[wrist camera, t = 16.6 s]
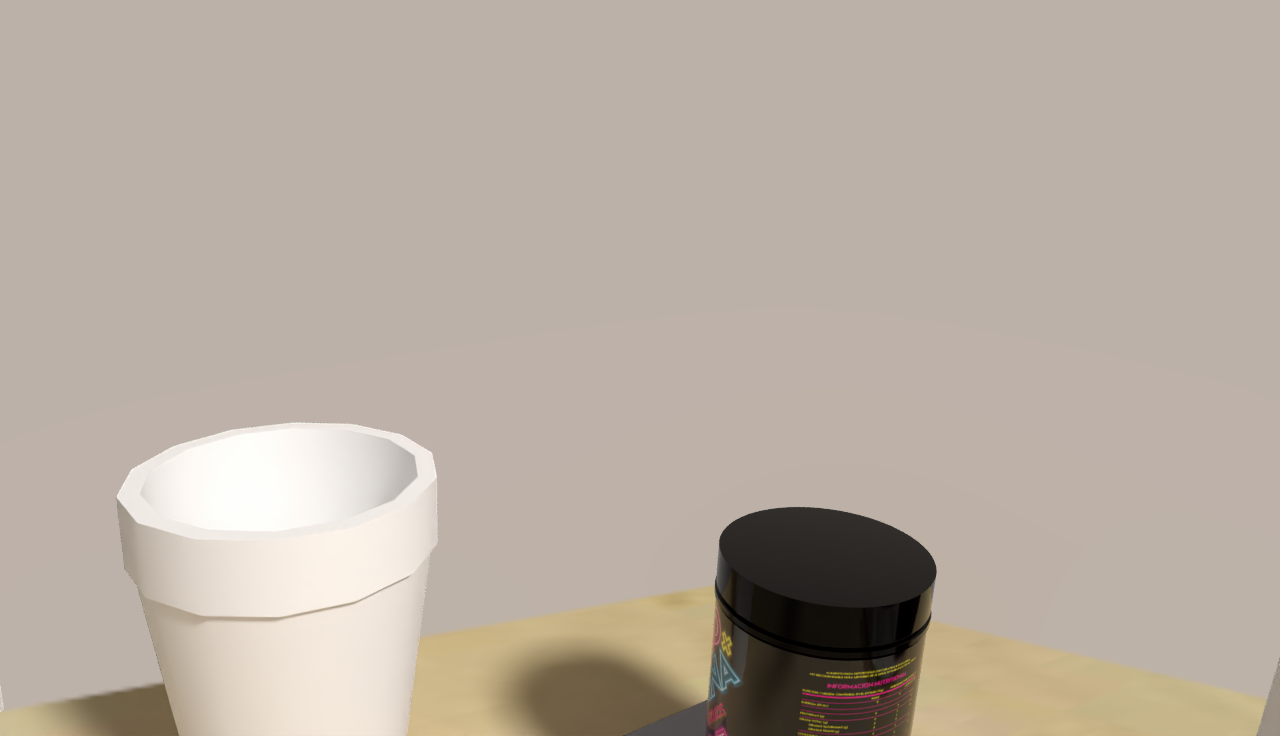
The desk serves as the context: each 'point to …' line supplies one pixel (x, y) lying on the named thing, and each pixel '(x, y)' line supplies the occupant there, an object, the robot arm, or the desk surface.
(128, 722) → the desk surface
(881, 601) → the supplement container
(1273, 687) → the robot arm
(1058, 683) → the desk surface
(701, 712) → the mat
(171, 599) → the foam cup
